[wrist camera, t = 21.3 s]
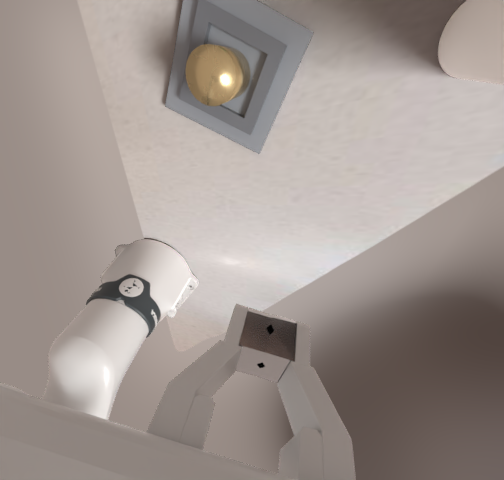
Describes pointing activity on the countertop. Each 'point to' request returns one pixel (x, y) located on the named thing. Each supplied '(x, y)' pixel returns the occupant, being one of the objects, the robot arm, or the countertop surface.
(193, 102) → the grey square tray
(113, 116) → the countertop surface
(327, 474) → the robot arm
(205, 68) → the cylinder
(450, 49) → the cylindrical container
